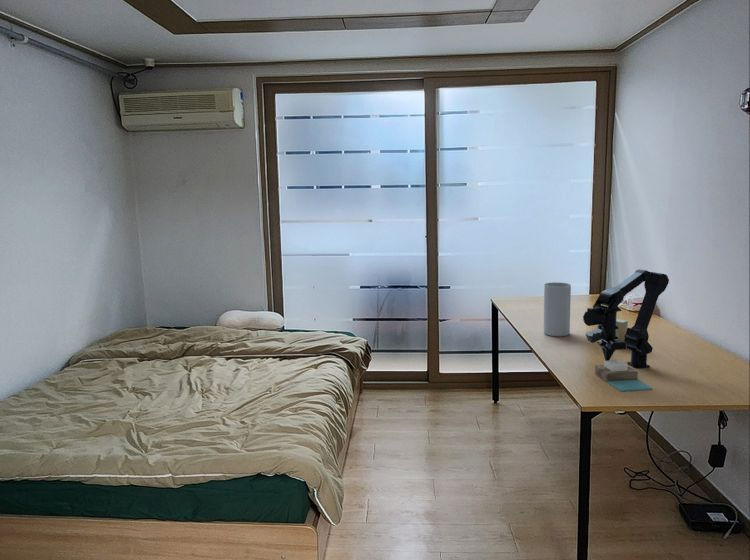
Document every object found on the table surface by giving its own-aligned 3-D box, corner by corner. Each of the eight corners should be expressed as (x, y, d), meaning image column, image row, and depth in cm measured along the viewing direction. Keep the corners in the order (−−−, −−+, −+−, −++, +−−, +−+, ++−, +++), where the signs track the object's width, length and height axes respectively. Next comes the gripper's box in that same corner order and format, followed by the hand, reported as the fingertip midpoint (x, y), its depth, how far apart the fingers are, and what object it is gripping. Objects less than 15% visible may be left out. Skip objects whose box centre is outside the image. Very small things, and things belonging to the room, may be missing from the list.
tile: (603, 365, 232) (603, 360, 231) (618, 364, 232) (618, 360, 232) (612, 371, 225) (612, 366, 224) (627, 370, 225) (627, 365, 225)
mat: (607, 382, 223) (607, 381, 223) (637, 380, 224) (638, 379, 224) (620, 391, 213) (620, 390, 213) (652, 389, 214) (652, 388, 214)
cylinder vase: (572, 336, 288) (574, 286, 284) (547, 337, 289) (548, 287, 285) (565, 330, 301) (566, 282, 297) (540, 330, 301) (541, 282, 297)
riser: (594, 374, 233) (595, 365, 232) (623, 372, 234) (624, 363, 233) (607, 382, 223) (607, 373, 223) (637, 380, 224) (637, 371, 224)
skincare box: (608, 345, 271) (609, 320, 269) (613, 344, 274) (614, 318, 272) (622, 348, 266) (623, 322, 264) (627, 346, 269) (628, 320, 267)
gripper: (578, 318, 241) (577, 355, 244) (599, 329, 223) (598, 369, 225) (604, 317, 242) (603, 353, 244) (628, 328, 224) (626, 367, 226)
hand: (607, 360), depth 235 cm, fingers closed
